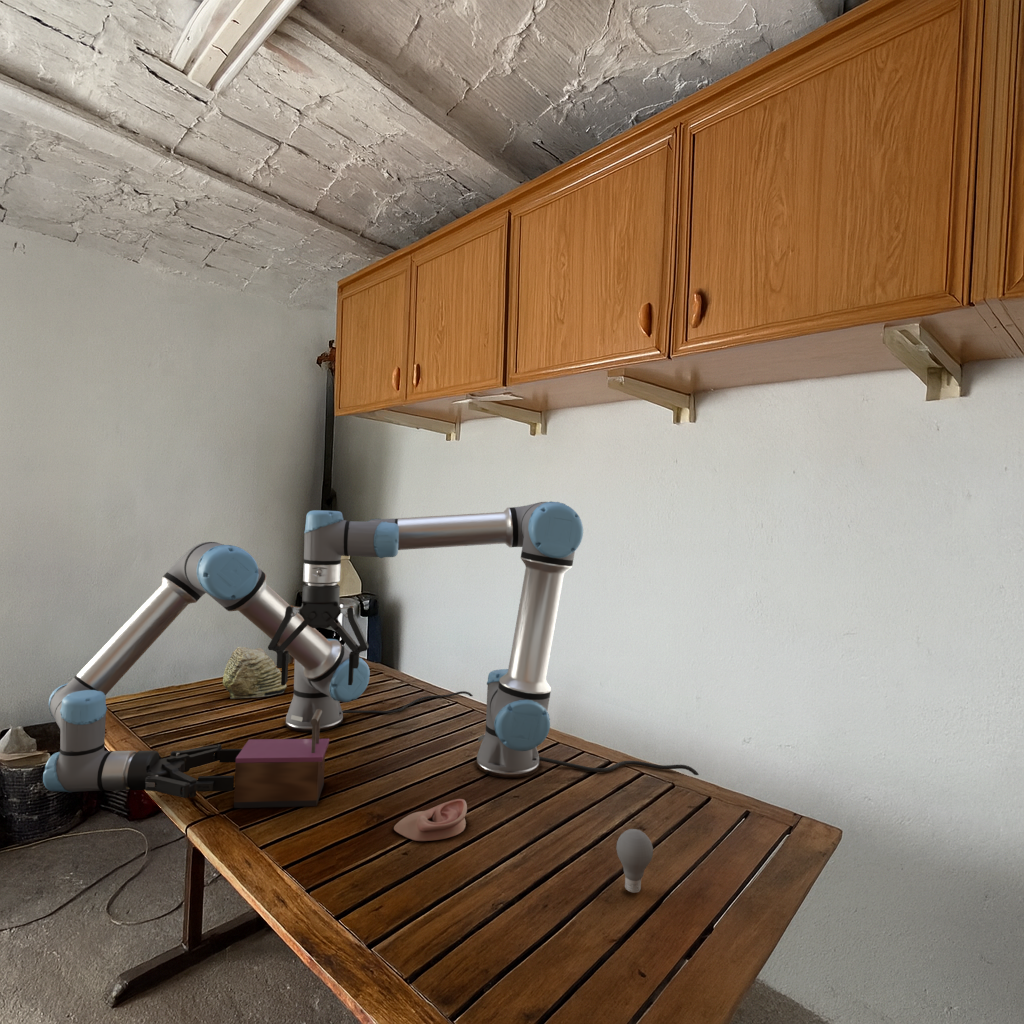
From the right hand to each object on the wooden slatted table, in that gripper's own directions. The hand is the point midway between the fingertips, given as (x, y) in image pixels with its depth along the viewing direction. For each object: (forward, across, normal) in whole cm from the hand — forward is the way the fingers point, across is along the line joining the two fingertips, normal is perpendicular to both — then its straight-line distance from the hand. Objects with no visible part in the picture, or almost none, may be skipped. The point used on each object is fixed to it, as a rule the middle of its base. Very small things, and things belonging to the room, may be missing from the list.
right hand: (317, 683), depth 134 cm
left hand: (+18, -14, 0) cm, 23 cm away
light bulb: (+24, +58, -38) cm, 73 cm away
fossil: (+24, -29, +68) cm, 78 cm away
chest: (+24, -7, 0) cm, 25 cm away
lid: (+15, -6, 0) cm, 16 cm away
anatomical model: (+24, +24, -15) cm, 37 cm away
